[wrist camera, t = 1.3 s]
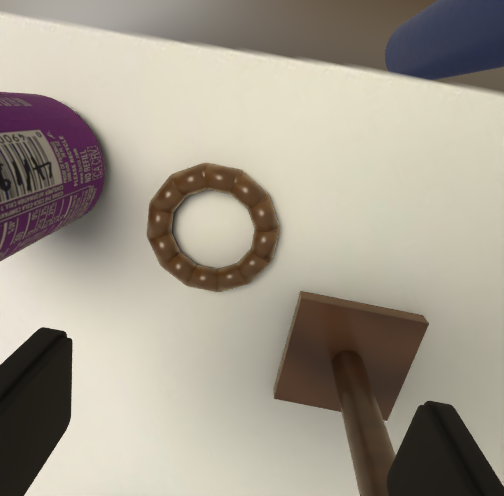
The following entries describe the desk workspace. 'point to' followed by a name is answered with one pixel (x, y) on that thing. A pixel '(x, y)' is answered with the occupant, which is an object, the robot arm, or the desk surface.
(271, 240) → the ring
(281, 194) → the desk surface
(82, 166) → the beverage can
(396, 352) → the peg post
